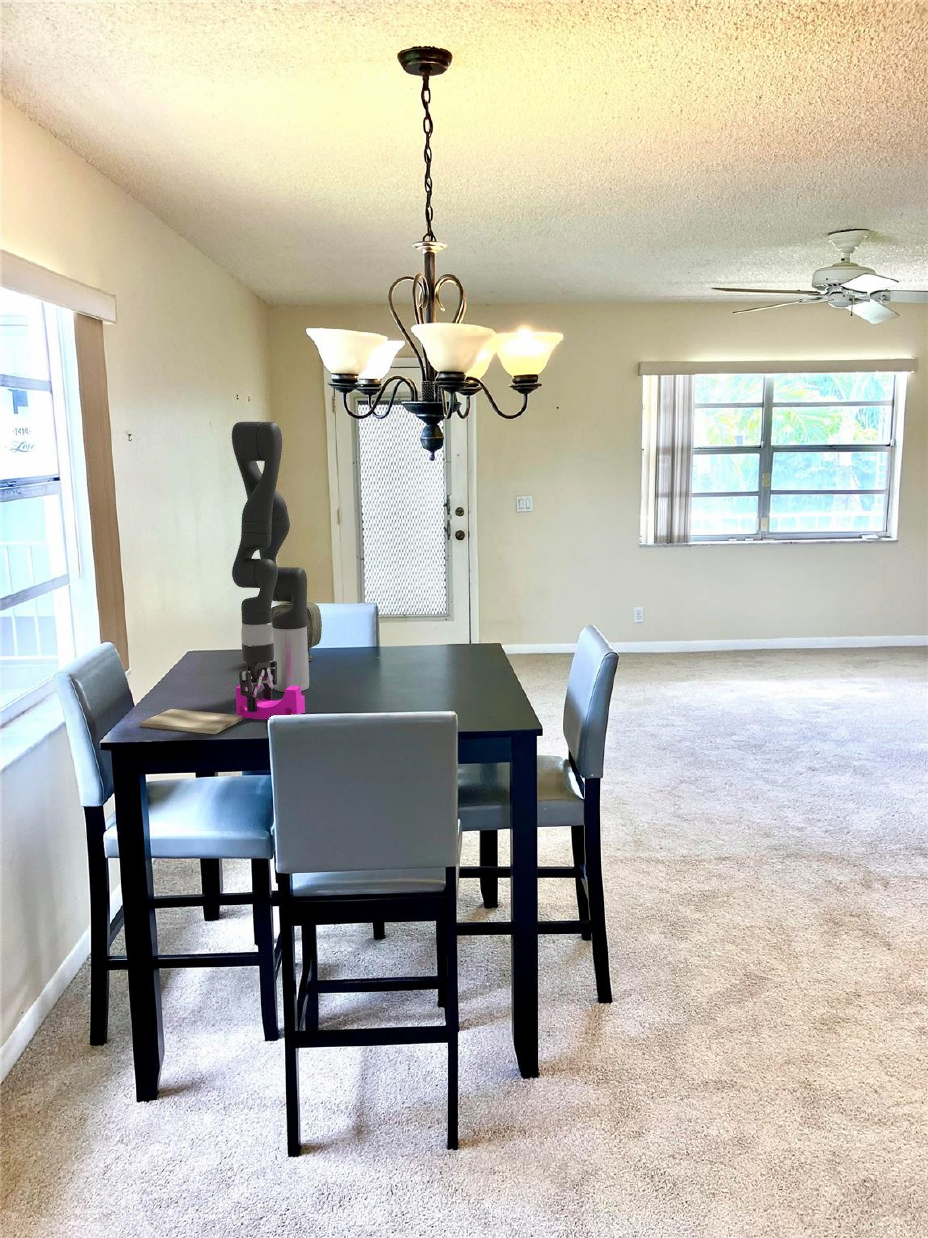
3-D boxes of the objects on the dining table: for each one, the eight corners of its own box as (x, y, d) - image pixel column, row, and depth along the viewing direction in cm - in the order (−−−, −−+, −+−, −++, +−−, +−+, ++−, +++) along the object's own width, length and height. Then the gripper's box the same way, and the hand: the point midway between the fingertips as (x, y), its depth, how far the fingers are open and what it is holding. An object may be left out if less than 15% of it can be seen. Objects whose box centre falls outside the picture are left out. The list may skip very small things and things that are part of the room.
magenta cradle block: (305, 713, 218) (304, 683, 217) (297, 720, 212) (295, 690, 211) (246, 711, 220) (245, 681, 219) (237, 718, 214) (235, 688, 213)
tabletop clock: (270, 660, 276) (267, 580, 271) (282, 654, 284) (279, 577, 280) (313, 662, 272) (311, 582, 268) (324, 656, 281) (322, 578, 277)
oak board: (171, 712, 218) (171, 708, 218) (243, 719, 213) (242, 715, 212) (140, 726, 207) (140, 722, 207) (214, 734, 201) (214, 730, 201)
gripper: (259, 635, 221) (261, 699, 224) (227, 645, 208) (230, 714, 210) (286, 636, 219) (288, 701, 222) (256, 647, 205) (258, 716, 208)
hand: (260, 707), depth 216 cm, fingers closed on magenta cradle block, 7 cm apart
